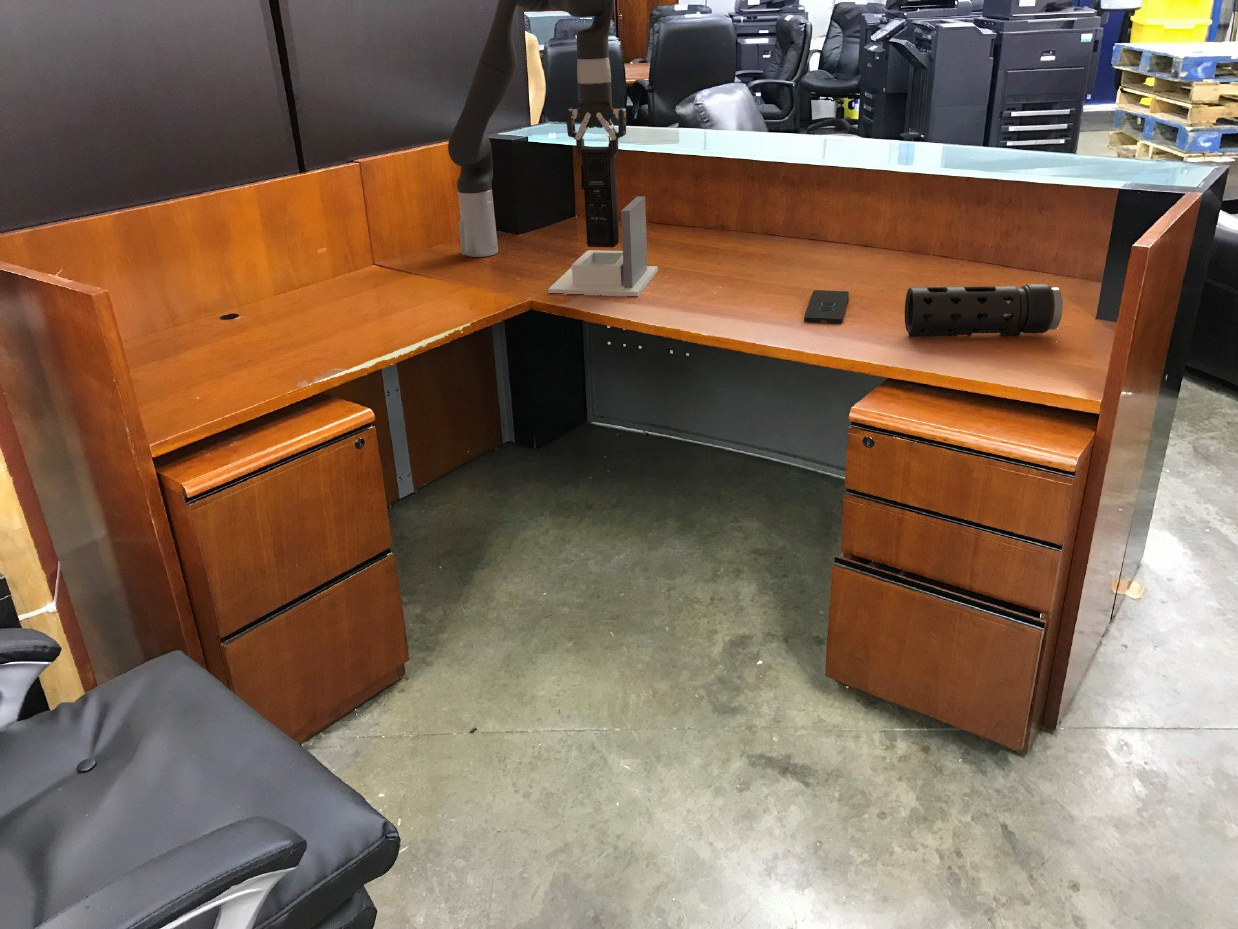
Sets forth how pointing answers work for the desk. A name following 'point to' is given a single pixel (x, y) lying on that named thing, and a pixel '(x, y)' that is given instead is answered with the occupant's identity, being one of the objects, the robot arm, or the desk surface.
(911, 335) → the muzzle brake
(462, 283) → the desk surface
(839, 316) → the smart home device
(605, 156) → the portable radio
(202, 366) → the desk surface
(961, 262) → the desk surface
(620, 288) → the docking stand
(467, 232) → the robot arm
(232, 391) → the desk surface
